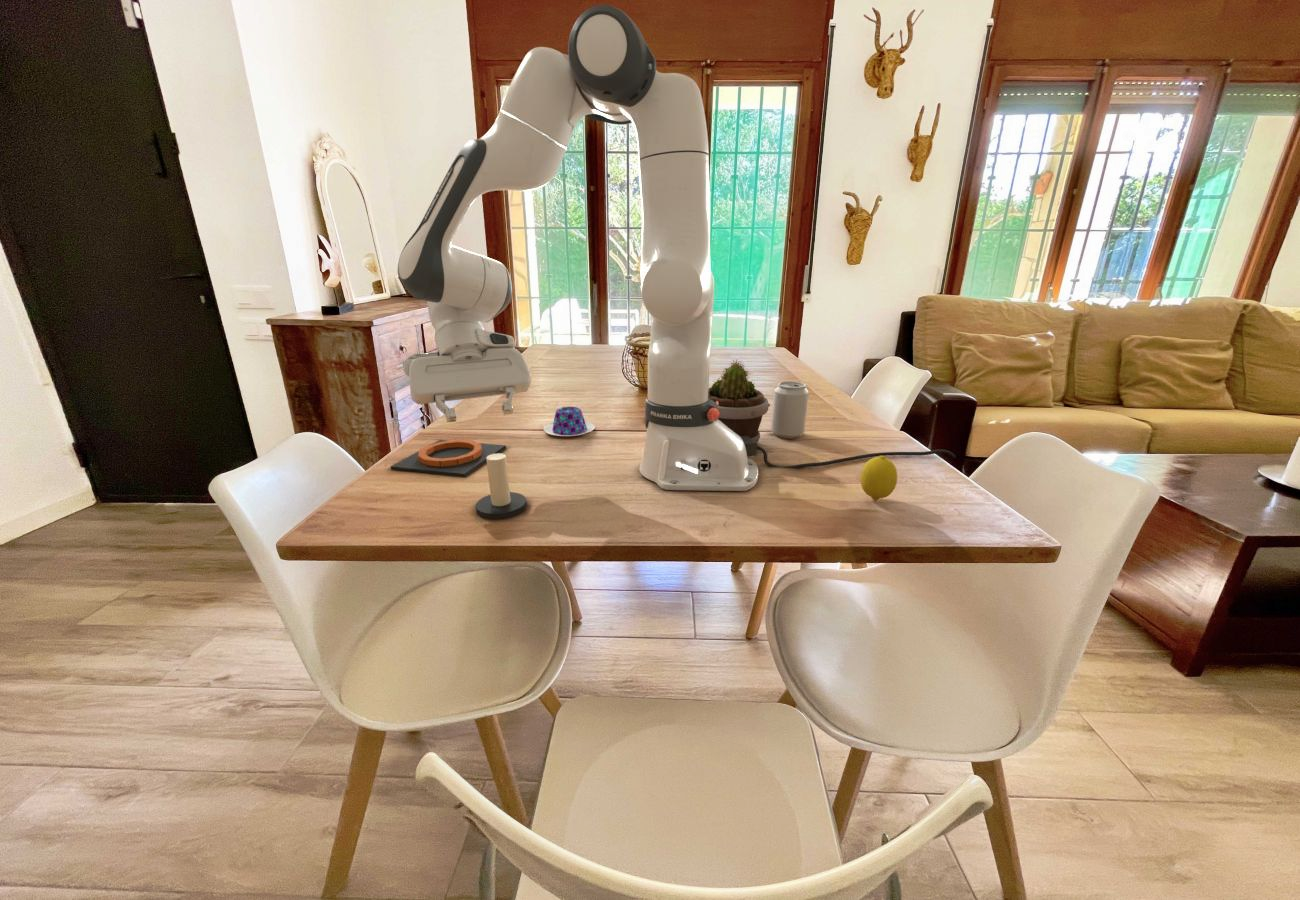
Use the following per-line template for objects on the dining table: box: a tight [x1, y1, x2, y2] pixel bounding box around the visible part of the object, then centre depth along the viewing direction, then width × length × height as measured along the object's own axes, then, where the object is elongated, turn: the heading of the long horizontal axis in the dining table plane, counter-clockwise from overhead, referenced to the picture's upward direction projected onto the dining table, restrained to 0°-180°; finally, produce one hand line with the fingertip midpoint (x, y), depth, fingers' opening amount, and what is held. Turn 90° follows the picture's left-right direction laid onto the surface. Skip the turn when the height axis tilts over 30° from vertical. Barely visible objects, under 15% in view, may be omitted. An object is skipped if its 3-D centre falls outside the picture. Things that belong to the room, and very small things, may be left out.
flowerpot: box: [708, 359, 771, 443], centre depth 109 cm, size 14×15×20 cm
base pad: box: [390, 439, 507, 478], centre depth 105 cm, size 16×16×2 cm
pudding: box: [543, 406, 596, 437], centre depth 121 cm, size 12×12×5 cm
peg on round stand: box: [475, 452, 528, 520], centre depth 83 cm, size 8×8×9 cm
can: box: [770, 380, 810, 439], centre depth 117 cm, size 8×8×12 cm
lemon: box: [860, 456, 898, 501], centre depth 86 cm, size 6×6×8 cm
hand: (480, 416), depth 88 cm, fingers open, 8 cm apart
